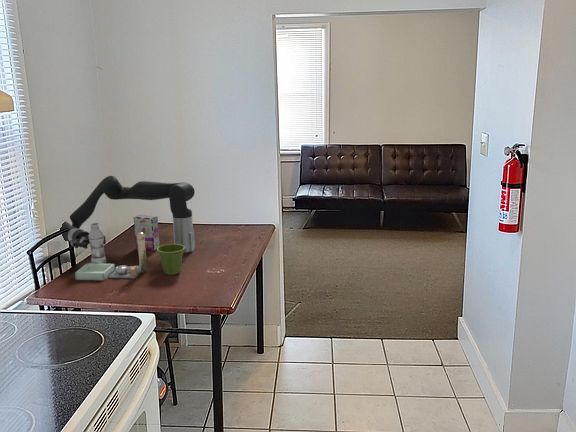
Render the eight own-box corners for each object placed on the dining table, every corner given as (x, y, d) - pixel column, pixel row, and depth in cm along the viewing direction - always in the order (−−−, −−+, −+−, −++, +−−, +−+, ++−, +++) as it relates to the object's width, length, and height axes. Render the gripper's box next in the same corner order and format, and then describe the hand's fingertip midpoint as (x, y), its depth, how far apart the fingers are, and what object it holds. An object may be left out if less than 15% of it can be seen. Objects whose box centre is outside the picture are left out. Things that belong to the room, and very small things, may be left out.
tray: (115, 270, 240) (114, 263, 239) (104, 280, 229) (103, 273, 228) (87, 270, 241) (86, 263, 240) (75, 279, 230) (74, 272, 229)
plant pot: (162, 279, 229) (160, 253, 227) (155, 270, 240) (153, 246, 237) (189, 274, 235) (188, 249, 232) (181, 266, 245) (180, 242, 242)
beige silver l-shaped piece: (115, 274, 232) (112, 236, 227) (115, 270, 236) (112, 233, 232) (147, 271, 235) (145, 233, 231) (147, 267, 240) (144, 230, 236)
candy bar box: (160, 248, 271) (158, 216, 267) (154, 251, 267) (152, 218, 262) (141, 245, 275) (139, 214, 271) (135, 248, 271) (132, 216, 267)
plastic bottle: (110, 265, 246) (106, 223, 241) (99, 270, 241) (95, 226, 236) (99, 263, 249) (95, 221, 244) (88, 268, 243) (83, 225, 238)
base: (141, 271, 238) (140, 269, 238) (134, 278, 231) (134, 276, 230) (116, 271, 239) (116, 269, 239) (109, 277, 231) (109, 275, 231)
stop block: (135, 274, 235) (134, 266, 234) (135, 276, 233) (134, 269, 232) (131, 274, 235) (130, 267, 234) (131, 277, 232) (130, 269, 231)
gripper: (94, 241, 259) (111, 248, 248) (65, 248, 249) (81, 256, 238) (93, 226, 257) (109, 232, 246) (63, 232, 247) (79, 239, 236)
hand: (95, 244), depth 242 cm, fingers open, 8 cm apart
